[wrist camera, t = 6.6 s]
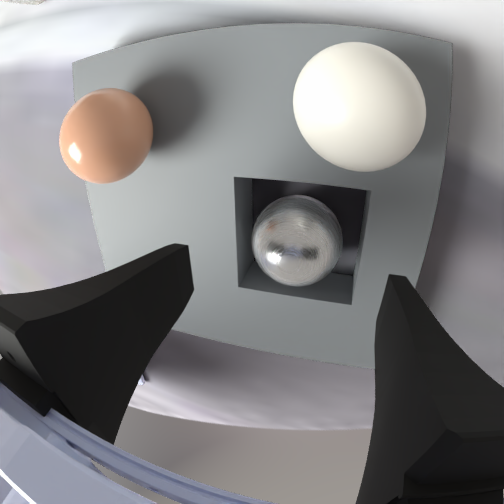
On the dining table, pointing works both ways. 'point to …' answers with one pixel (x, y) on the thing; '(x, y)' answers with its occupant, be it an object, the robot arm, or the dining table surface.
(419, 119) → the cream ball
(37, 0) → the decorative stone
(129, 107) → the terracotta ball
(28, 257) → the dining table surface
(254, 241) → the steel ball
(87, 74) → the hole plate
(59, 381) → the robot arm
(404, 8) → the dining table surface
